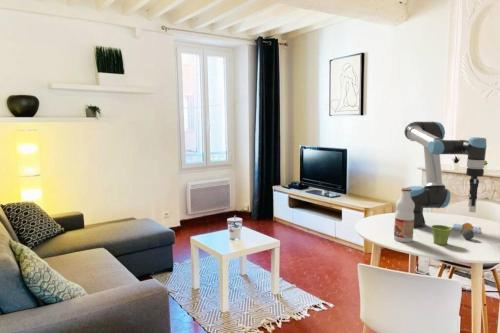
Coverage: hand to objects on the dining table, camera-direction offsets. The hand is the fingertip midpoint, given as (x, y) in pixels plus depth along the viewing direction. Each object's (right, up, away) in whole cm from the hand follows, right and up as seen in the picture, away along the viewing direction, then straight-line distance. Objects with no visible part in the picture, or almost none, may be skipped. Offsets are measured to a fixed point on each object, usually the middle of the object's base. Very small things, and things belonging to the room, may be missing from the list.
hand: (471, 209), depth 191 cm
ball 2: (+4, -15, +10) cm, 18 cm away
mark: (+15, -15, +31) cm, 37 cm away
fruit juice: (-32, -17, +8) cm, 37 cm away
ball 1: (+11, -13, +22) cm, 28 cm away
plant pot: (-15, -18, +3) cm, 24 cm away
